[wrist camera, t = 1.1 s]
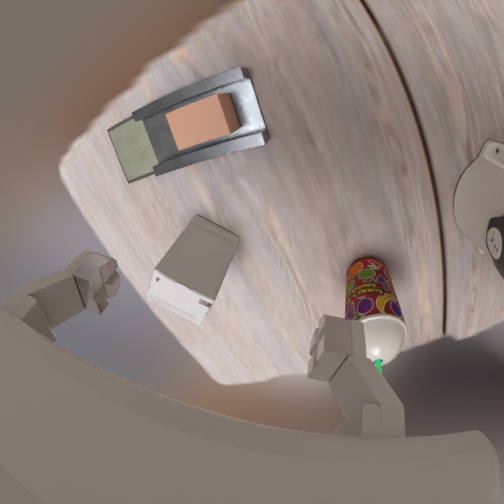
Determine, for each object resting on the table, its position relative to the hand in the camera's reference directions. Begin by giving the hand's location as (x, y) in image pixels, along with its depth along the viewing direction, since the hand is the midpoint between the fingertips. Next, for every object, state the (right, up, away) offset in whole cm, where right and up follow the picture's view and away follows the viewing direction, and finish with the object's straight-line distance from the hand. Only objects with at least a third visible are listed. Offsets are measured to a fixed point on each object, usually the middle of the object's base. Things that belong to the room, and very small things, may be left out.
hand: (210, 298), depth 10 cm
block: (-4, +20, +24) cm, 31 cm away
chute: (-9, +19, +25) cm, 33 cm away
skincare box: (-5, +4, +35) cm, 35 cm away
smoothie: (+20, -1, +32) cm, 37 cm away
